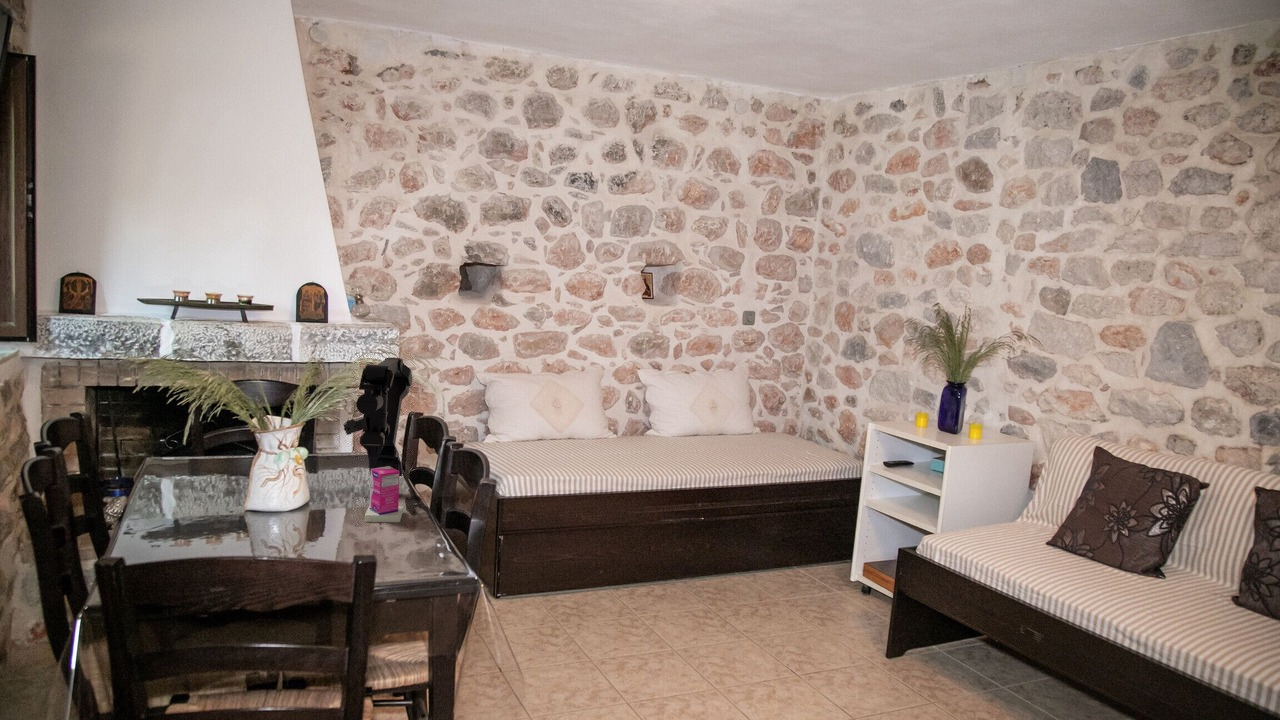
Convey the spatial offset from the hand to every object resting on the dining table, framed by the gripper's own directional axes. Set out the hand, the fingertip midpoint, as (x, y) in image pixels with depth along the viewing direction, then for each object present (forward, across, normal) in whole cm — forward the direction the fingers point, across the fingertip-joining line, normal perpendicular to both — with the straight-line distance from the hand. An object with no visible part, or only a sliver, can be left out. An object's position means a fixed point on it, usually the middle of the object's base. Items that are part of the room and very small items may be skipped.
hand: (374, 463), depth 235 cm
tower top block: (+12, +13, +4) cm, 18 cm away
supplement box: (+10, +13, +4) cm, 17 cm away
